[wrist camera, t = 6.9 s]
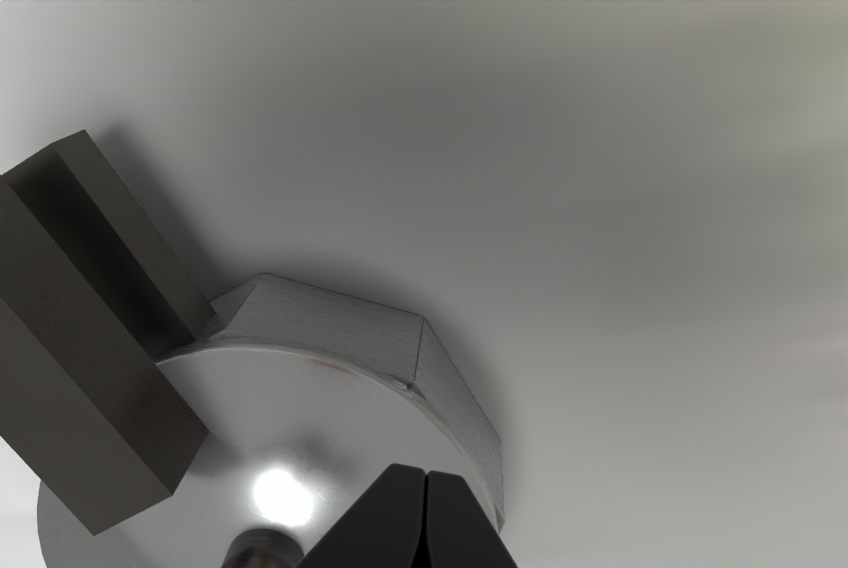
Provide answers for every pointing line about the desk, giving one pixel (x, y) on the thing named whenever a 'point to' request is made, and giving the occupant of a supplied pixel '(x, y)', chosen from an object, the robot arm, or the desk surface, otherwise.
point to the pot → (230, 293)
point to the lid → (189, 428)
